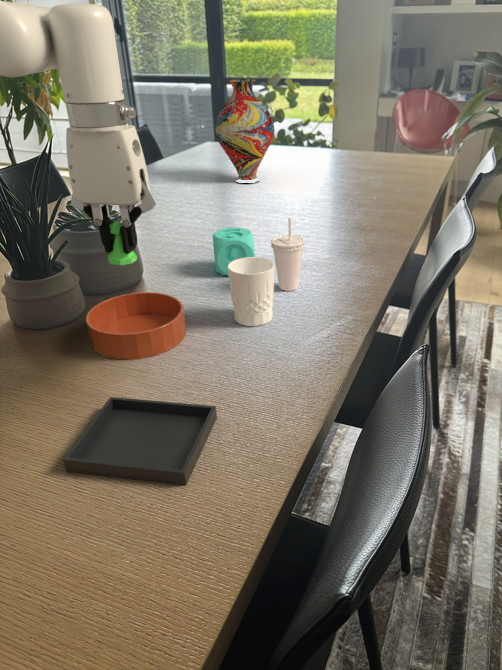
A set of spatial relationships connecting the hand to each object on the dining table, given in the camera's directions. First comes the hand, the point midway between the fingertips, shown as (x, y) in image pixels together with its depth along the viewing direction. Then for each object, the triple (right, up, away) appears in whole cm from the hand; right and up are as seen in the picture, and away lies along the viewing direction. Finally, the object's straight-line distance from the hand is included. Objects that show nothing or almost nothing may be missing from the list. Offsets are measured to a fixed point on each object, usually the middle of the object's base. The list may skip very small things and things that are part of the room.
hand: (120, 249), depth 83 cm
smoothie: (+26, -2, +27) cm, 37 cm away
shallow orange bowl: (0, -12, +11) cm, 17 cm away
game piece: (0, -2, +1) cm, 2 cm away
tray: (+7, -27, -13) cm, 31 cm away
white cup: (+19, -9, +16) cm, 27 cm away
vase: (+13, +46, +102) cm, 112 cm away
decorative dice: (+14, +3, +36) cm, 39 cm away
